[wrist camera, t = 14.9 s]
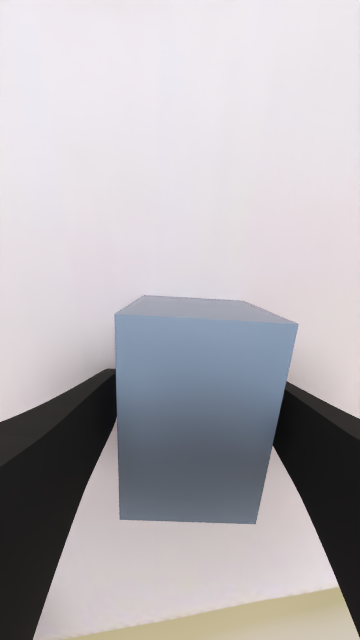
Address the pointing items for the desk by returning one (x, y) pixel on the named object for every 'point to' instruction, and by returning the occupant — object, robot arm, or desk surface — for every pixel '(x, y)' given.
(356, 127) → the desk surface
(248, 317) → the blue-grey rectangular block
